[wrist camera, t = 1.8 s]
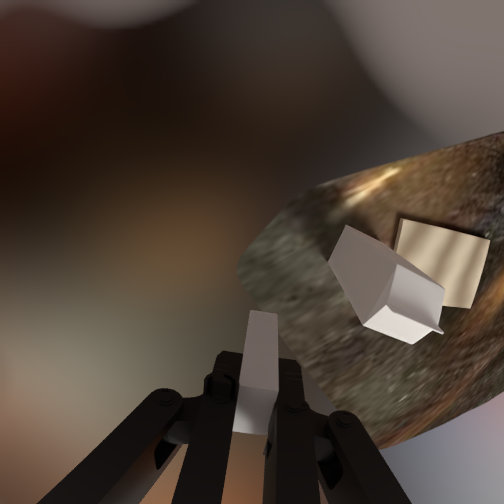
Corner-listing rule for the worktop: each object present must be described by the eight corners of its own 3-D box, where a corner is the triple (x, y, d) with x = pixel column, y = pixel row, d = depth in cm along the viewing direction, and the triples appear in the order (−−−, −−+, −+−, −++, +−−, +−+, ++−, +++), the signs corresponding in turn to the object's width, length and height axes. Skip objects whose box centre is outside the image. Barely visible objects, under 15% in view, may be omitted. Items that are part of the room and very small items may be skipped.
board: (486, 239, 39) (490, 240, 38) (466, 305, 42) (470, 308, 41) (400, 217, 39) (403, 219, 38) (381, 295, 43) (384, 298, 41)
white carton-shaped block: (362, 277, 42) (425, 365, 21) (326, 261, 42) (371, 346, 21) (381, 240, 41) (464, 303, 19) (345, 222, 40) (412, 276, 19)
